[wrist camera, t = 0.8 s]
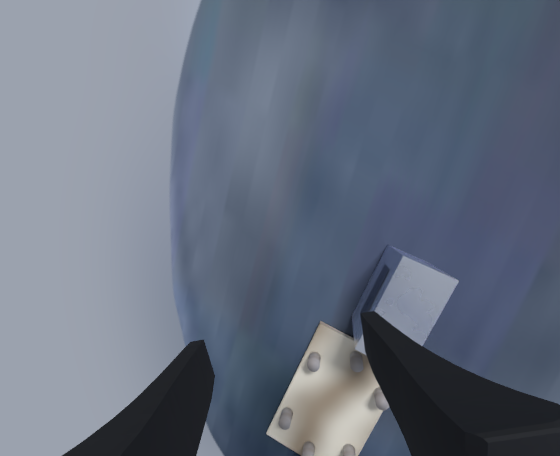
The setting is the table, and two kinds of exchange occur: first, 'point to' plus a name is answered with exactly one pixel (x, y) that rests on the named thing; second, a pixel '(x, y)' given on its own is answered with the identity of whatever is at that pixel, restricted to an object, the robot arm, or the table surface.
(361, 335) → the block
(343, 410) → the birch pin tray
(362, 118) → the table surface
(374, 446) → the table surface
